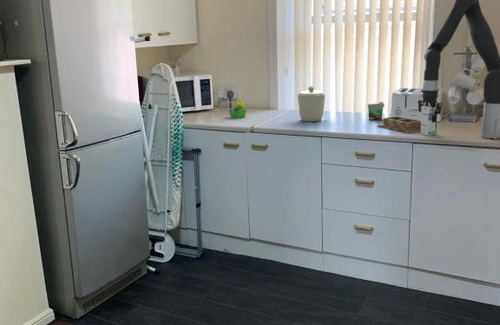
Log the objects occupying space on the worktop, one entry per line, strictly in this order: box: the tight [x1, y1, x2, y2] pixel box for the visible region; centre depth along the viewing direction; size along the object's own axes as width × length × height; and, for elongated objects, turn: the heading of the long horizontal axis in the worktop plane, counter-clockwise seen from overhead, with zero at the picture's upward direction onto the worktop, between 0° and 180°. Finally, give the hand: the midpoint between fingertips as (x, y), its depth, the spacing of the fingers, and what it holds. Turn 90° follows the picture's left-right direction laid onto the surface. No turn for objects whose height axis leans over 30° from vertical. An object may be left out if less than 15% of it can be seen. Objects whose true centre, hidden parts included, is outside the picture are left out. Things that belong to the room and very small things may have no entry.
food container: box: [367, 101, 385, 121], centre depth 308 cm, size 12×6×10 cm, turn 129°
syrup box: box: [420, 106, 438, 136], centre depth 263 cm, size 6×6×14 cm
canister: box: [296, 86, 327, 122], centre depth 312 cm, size 18×18×21 cm
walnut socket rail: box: [377, 115, 421, 134], centre depth 281 cm, size 24×14×5 cm, turn 27°
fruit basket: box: [228, 99, 247, 120], centre depth 335 cm, size 11×9×11 cm
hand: (428, 121), depth 263 cm, fingers closed on syrup box, 6 cm apart
